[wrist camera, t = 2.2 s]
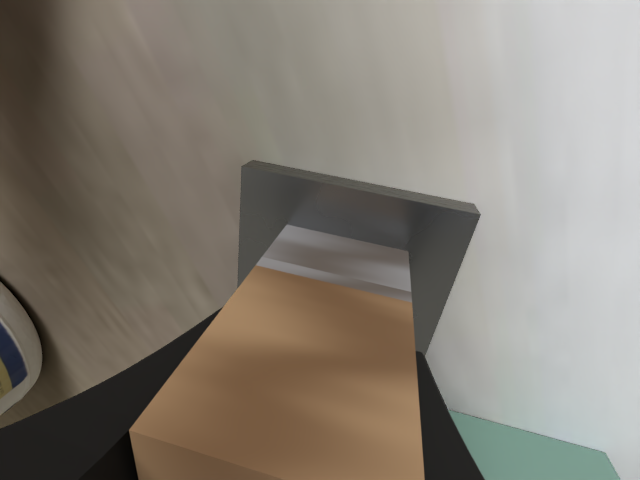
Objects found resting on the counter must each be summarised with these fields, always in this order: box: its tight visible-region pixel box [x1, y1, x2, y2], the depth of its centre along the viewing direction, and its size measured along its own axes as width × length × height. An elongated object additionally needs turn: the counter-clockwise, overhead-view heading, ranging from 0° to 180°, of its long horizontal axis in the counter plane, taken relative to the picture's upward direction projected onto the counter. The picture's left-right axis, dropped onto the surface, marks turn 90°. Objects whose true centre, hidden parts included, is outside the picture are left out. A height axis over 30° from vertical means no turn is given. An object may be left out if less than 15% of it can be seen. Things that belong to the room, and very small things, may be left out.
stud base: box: [237, 160, 481, 356], centre depth 12 cm, size 8×8×3 cm
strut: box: [129, 225, 425, 480], centre depth 9 cm, size 4×4×8 cm
